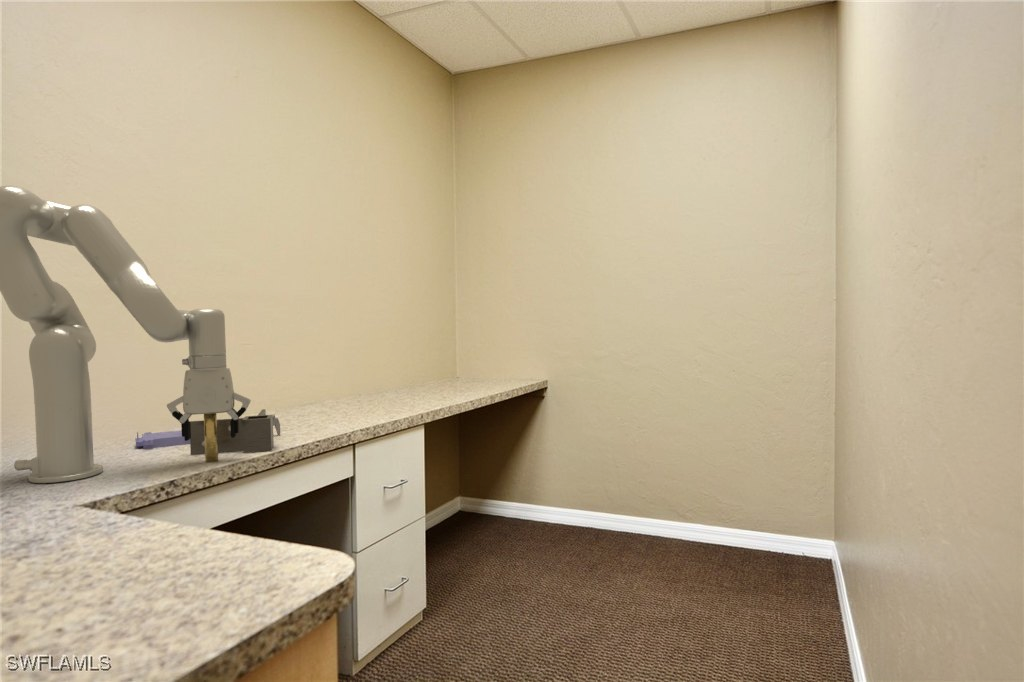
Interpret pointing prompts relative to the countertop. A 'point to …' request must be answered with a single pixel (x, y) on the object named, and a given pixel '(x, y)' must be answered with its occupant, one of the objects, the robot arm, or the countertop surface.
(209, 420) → the pin
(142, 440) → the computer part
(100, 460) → the countertop surface
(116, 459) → the countertop surface
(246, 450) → the hinge
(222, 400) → the robot arm
